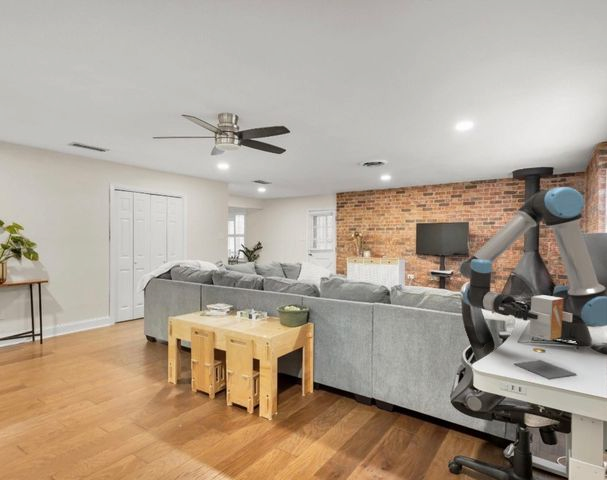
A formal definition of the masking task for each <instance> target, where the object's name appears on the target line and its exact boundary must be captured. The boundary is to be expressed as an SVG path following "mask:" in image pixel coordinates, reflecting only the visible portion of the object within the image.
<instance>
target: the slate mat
mask: <svg viewBox="0 0 607 480" xmlns="http://www.w3.org/2000/svg"><path fill="white" fill-rule="evenodd" d="M514 365H515V366H517V367H519V368H521V369H524V370H526V371H529V372H531V373H534V374H536V375H538V376H540V375H541V377H542V378H545V377H546V379H547V378H548V380H554V379H560V378H566V377H572V376H577V373H575V372H573V371H570V370H567V369H565V368H562V367H560V366H557V365H554V364H552V363H550V362H546V361H544V360H541V359H539V360H538V359H537V360H532V361H523V362H522V361H521V362H515V363H514ZM553 378H554V379H553Z"/></svg>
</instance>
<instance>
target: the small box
mask: <svg viewBox="0 0 607 480" xmlns="http://www.w3.org/2000/svg"><path fill="white" fill-rule="evenodd" d="M553 296H554V295H552V296H551V295H546V294H545V295H544V294H540V295H534V296H531V297H530V298H531V299H530V304H531V311H535V312H539V313H543V314H547V315H550V324H546V323H542V322H538V321H535V320H531V319H529V333H528V335H529V336H530V337H533V338H539V339H542V340H546V341H554V340H553V339H556V338H560V337H561V326H562V310H563V298H559V297H553Z"/></svg>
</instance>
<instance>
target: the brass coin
mask: <svg viewBox="0 0 607 480" xmlns="http://www.w3.org/2000/svg"><path fill="white" fill-rule="evenodd" d="M532 350H533V352H537V353H540V354H545V353H546V352H547V351H546V350H545V349H543V348H539V347H538V348H537V347H534V348H533V347H532Z"/></svg>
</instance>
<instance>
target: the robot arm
mask: <svg viewBox="0 0 607 480" xmlns="http://www.w3.org/2000/svg"><path fill="white" fill-rule="evenodd" d="M584 208H585V199H584V197H583V195H582V193H581V192H579V191H578V190H577V189H575V188H573V187H569V186H562V187H561V186H558V187H554V188H553V187H552V188H551V189H550V188H549V189H544V190H541V191H538V192H537V193H535V194H534V195H532V196H531V197H530V198H529V199H527V200H526V201H525V203H523V204H522V206H520V207H519V208H518V209H517V210H516V211H515V215H514V216H513V217H512V218H511V219H510V220H509V221H508V222H507V223H506V224H505V225H504V226H503V227H502V228H501V229H499V231H498V232H496V233H495V235H493V236H492V237H491V238H490V239H489V240H488V241H487V242H486V243H485V244H484V245H482V247H480V249H479V250H477V251H476V252H475V253H474V254H473V255H472V256H471V257H470V258H469V259H467V260H464V261H462V262H461V263H460V264H459V267H458V271H459V273H460V275H461V276H462V277H464V278H466V279H468V280H469V287H467V288H466V289H465V290H464V291H463V293H462V299H463V302H464V303H465V304H467V305H469V306H471V307H473V308H477V309H481V310H486V311H489V312H491V314H498V315H502V316H506V317H509V316H512V317H515V318H517V319H522V320H523V321H526V322H528V320H530V319H531V320H535V321H538V322H542V323H546V324H550V315H547V314H543V313H539V312H535V311H531V302H530V303H529V302H522V301H516V299H515V298H514V297H513V296H511V295H509V294H504V293H499V292H496V291H491V282H492V270H493V268H492V263H494V262H495V261H496V260H497V259H498V258H499V257H500V256H502V255H503V254H504V253H505V252H506V251H507V249H509V248H510V247H512V245H513V244H514V243H516V241H518V240H519V239H520V238H521V237H522V236H523V235H524V234H525V233H526V232H527V231H529V229H530V228H534V227H537V226H538V225H539V224H540V223H542V222H544V223H545V226H546V227H547V228H550V229H551V230H552V233H553V236H554V239H555V242H556V246H557V248H558V252H559V256H560V258H561V261H562V265H563V267H564V271H565V273H566V277H567V280H568V284H569V285H556V286H554V289H553V292H552V296H553V297H559V298H563V310H562V326H561V337H560V338H557V339H563V340H572V341H576V343H577V345H576V346H590V345H592V342H593V341H592V340H593V339H592V336H591V332H590V330H589V326H588V325H590V326H594V327H606V326H607V289H606V287H605V286H604V285H602V284H601V283H599V281H598V278H597V275H596V272H595V269H594V266H593V262H592V260H591V256H590V254H589V253H590V252H589V251H588V247H587V244H586V241H585V238H584V234H583V232H582V228H581V225H580V222H581V221H582V219H583V215H582V211H583V209H584Z"/></svg>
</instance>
